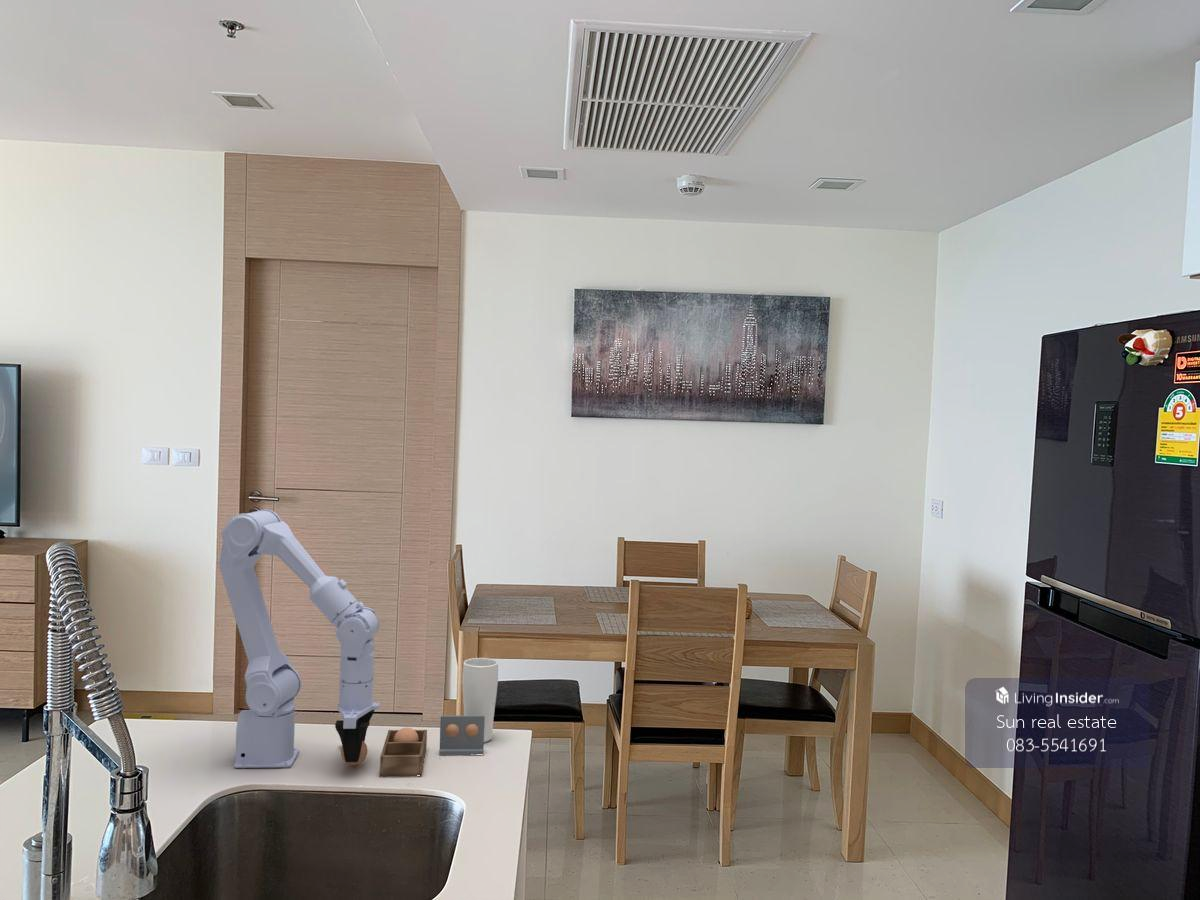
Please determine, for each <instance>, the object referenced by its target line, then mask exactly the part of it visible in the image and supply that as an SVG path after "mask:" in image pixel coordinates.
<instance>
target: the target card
mask: <svg viewBox="0 0 1200 900" xmlns="http://www.w3.org/2000/svg"><path fill="white" fill-rule="evenodd" d="M484 720H485V715H464V714H463V715H460V714H459V715H440V722H439V723H440V724H439V725H440V727H439V751H438V756H439V755H463V756H472V755H471V754H483V755H484V744H485V742H484Z"/></svg>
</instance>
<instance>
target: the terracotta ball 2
mask: <svg viewBox="0 0 1200 900" xmlns="http://www.w3.org/2000/svg"><path fill="white" fill-rule="evenodd" d="M398 730H399V731H398V732H397V733H396V734H395V736H394V741H393V742H419V737H418V734H417V732H416V731H415V730H416V729H413V728H411V727H401V728H400V729H398Z"/></svg>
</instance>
